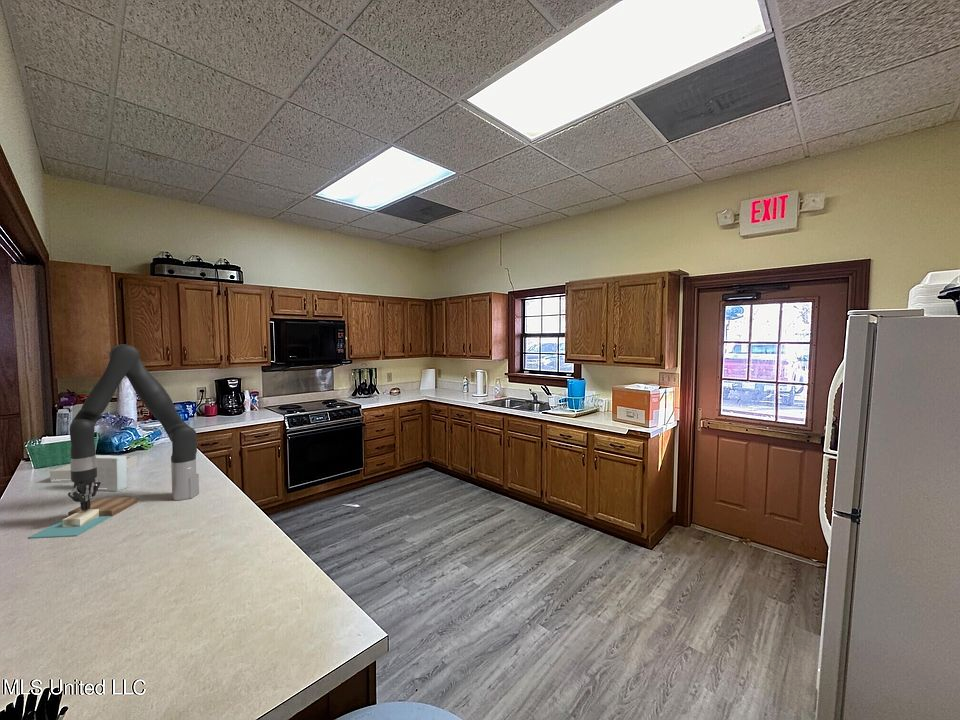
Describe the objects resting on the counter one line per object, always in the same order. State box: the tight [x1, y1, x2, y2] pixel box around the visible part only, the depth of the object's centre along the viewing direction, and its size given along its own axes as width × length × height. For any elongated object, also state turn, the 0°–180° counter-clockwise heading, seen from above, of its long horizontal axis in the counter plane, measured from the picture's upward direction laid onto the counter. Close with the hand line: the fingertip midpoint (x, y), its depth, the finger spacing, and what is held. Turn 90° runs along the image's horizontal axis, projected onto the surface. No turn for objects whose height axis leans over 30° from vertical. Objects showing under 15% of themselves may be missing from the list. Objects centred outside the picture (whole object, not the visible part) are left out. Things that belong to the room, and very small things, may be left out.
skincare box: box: [95, 454, 128, 492], centre depth 194 cm, size 21×5×16 cm, turn 84°
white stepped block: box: [49, 455, 138, 484], centre depth 214 cm, size 24×24×6 cm
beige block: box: [61, 509, 99, 527], centre depth 158 cm, size 6×9×3 cm, turn 8°
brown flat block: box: [67, 496, 138, 517], centre depth 170 cm, size 16×14×2 cm
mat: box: [27, 516, 112, 539], centre depth 155 cm, size 16×16×1 cm
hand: (85, 509), depth 161 cm, fingers closed
